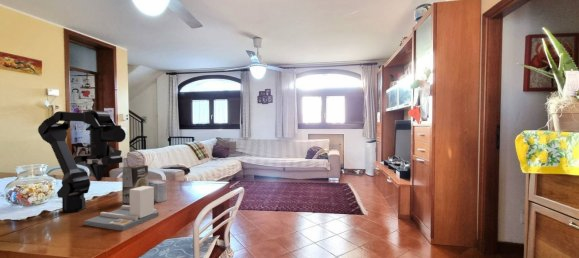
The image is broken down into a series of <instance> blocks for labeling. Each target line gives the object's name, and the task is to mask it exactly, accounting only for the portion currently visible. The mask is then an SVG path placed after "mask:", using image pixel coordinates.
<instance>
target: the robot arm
mask: <svg viewBox="0 0 579 258" xmlns="http://www.w3.org/2000/svg"><path fill="white" fill-rule="evenodd" d="M59 122H61V123H59ZM71 122H82V123H84V124H86V125H89V126H88V127H86V128H85V131H89V144H87V146H86V148H89V153H88V154H80V155H79V154H78V155H77V156H75V158H74V156H73V154H72V152H71V150H70V149H71V148H70V147H69V145H68V142H67V137H68V130H69V129H70V128H71ZM37 131H38V134H39V135H40V137H41V139H42V141H44V142H46V143H47V144H49V145H50V147H51V150H52V151H53V153H54V155H55V158H56V160H57V162H58V164H59V167H60V169H61V171H62V174H63V177H62V179H61V185H62V186H61V187H60V188H59V189H58V191H57V193H56V194H57V198H60V199H62V200H61V202H62V203H61V204H62V205H61V208H62V210H60V211H59V214H61V213H63V214H64V213H77V212H81V210H83V209H86V208H87V205H86V197H85V194H88V193H89V189H90V186H91V178H90V177H89V174H88V172H87V171H86V170H84V171H81V170H80V169H79V167H78V165H77V164H78V163H79V164H81V163H82V162H83V163H84V162H87V163H85V166H87V168H88V169H89V170H90V172H91V173H92V176H93V177H94V178H95V180H96V181H97V182H99V181H102V179H103V176H104V174H105V172H106V169H107V168H108V167H109V166H110V165H116V164H122V163H123V162H124V159H123V156H122V150H121V149H116V148H113V147H112V145H111V144H110V143H121V142H123V141H124V140H125V139H126V135H127V134H126V132H125V130H124V129H123V128H122V125H121V124H116V122H115V121H114V120H113V118H112V116H111V114H110V112H109V111H106V110H94V109H93V110H86V111H84V112H73V111H72V112H71V111H62V110H60V111H58V110H57V111H55V113H54V114H53V115H50V117H48V118H46V119H44V120H43V121H42V123H40V125H39V126H38V128H37Z"/></svg>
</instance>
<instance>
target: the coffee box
mask: <svg viewBox="0 0 579 258" xmlns="http://www.w3.org/2000/svg"><path fill="white" fill-rule="evenodd" d="M121 177H122V178H121V179H122V181H121V183H122V185H121V186H122V187H121V188H122V190H121V191H122V192H121V193H122V194H121V202H122V203H125V204H130V189H134V188H137V187H141V186H149V165H146V164H143V165H141V164H140V165H138V164H136V165H131V166H127V167H126V166H125V167H122V176H121Z"/></svg>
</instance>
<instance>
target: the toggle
mask: <svg viewBox="0 0 579 258" xmlns="http://www.w3.org/2000/svg"><path fill="white" fill-rule="evenodd" d="M154 202H155V201H154V187H150V186H149V185H148V186H141V187H137V188H134V189H130V203H129V206H130V216H137V217H138V218H142V217H145V216H147V215H150V214H152V213H154V209H155V203H154Z"/></svg>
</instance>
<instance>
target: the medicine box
mask: <svg viewBox="0 0 579 258" xmlns="http://www.w3.org/2000/svg"><path fill="white" fill-rule="evenodd" d="M148 186H150V187H154V202H155V203H162V202H165V201H167V182H166V181H161V180H153V181H148Z"/></svg>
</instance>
